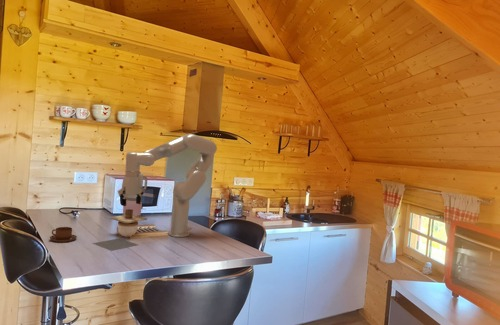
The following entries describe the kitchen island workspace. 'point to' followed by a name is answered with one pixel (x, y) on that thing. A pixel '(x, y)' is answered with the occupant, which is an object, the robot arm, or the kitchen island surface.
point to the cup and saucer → (63, 235)
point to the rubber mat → (115, 244)
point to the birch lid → (128, 217)
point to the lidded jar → (127, 228)
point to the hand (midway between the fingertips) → (131, 204)
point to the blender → (132, 200)
